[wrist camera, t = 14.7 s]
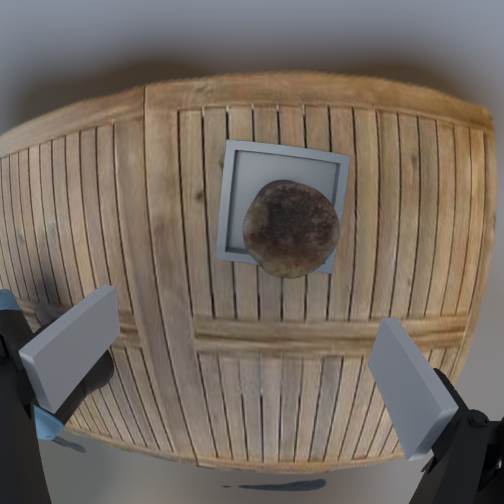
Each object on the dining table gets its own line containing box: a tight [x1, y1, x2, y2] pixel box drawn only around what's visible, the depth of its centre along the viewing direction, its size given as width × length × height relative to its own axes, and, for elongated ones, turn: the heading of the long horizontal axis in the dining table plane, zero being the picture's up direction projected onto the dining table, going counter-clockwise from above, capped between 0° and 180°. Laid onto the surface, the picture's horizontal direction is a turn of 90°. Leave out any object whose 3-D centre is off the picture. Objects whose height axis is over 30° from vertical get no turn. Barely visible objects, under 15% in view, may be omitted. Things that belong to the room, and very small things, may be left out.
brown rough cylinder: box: [242, 180, 340, 279], centre depth 30 cm, size 8×7×20 cm
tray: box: [216, 140, 350, 274], centre depth 39 cm, size 16×16×3 cm
